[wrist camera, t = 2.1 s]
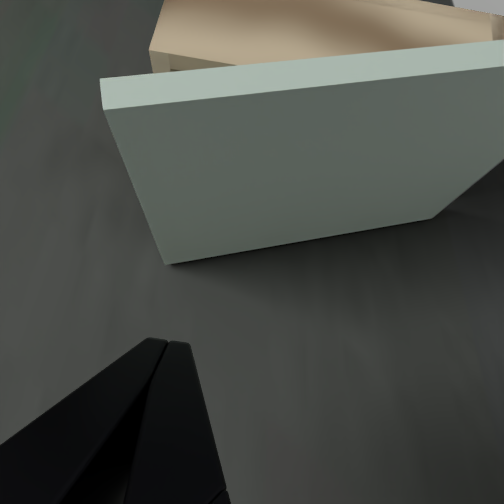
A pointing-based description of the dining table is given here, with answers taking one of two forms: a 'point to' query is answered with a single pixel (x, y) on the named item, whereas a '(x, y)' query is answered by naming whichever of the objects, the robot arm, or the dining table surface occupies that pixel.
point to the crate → (305, 30)
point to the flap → (306, 144)
